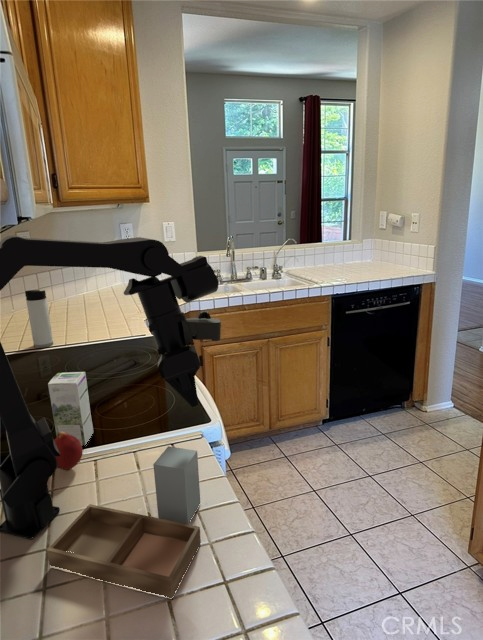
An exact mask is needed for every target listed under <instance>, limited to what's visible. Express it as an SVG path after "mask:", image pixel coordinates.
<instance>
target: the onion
mask: <svg viewBox="0 0 483 640" xmlns="http://www.w3.org/2000/svg"><path fill="white" fill-rule="evenodd" d="M58 435H59V436H58V437H57V436H56V437H55V439H54V438H53V439H54V441H55V443H56V446H57V448H58V450H59V452H60V456H56V459H57V464H58V465H57V469H60V470H63V471H67V472H68V471H70V470H72V469H73V468H74V467H76V466H77V465H78V463H80V461H81V460H82V457H83V447H82V445H81V443H80V441H79V440H78V439H77V438H76V437H74V436H72V435H70V434H67V433H64V432H59V433H58Z"/></svg>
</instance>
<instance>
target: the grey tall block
mask: <svg viewBox="0 0 483 640" xmlns="http://www.w3.org/2000/svg"><path fill="white" fill-rule="evenodd" d="M198 455H199V454H198V450H194V449H188V448H183V447H182V448H181V447H175V446H166V448H165V449H164V451H163V452H162V453H161V454H160V456H159V457H158V458H157V459H156V461H155V462H153V465H152V467H153V473H154V485H155V494H156V495H155V496H156V498H155V499H156V505H157V506H156V507H157V518H160V519H164V520H169V521H174V522H179V523H184V524H189V522H190V520H191V518H192V517H193V515H194V513H195V511H196V510H197V508H198V506H199V504H200V503H201V489H200V487H201V486H200V475H199V459H198V458H199V457H198ZM198 509H199V508H198ZM197 511H198V510H197ZM194 516H195V515H194ZM193 518H194V517H193ZM190 523H191V522H190ZM189 525H190V524H189Z"/></svg>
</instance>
